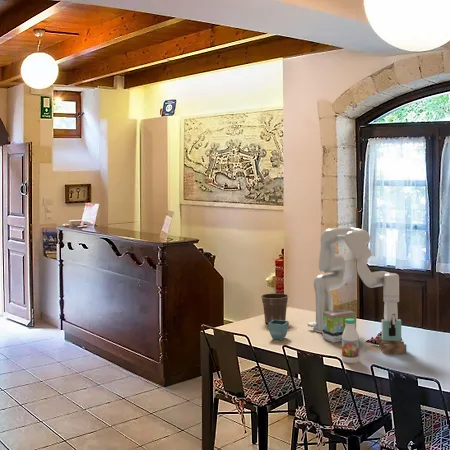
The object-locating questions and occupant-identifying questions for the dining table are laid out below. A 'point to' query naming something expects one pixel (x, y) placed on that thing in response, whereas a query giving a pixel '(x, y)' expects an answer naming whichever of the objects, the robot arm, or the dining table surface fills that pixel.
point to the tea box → (336, 324)
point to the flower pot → (278, 329)
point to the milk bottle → (350, 342)
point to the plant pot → (274, 306)
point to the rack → (391, 346)
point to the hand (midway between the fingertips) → (391, 334)
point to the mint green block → (386, 331)
